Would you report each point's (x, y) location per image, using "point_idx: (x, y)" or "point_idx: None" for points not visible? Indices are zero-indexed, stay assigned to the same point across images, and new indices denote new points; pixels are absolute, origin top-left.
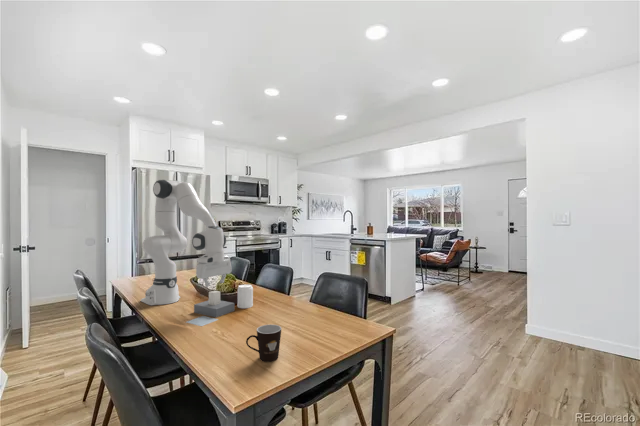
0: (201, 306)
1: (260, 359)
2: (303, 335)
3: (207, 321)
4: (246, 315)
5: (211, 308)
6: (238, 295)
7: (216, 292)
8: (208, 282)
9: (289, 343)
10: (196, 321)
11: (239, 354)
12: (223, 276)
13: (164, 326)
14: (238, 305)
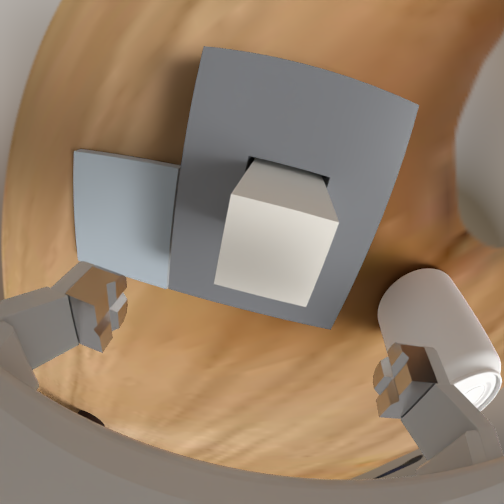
0: (186, 138)
1: (79, 411)
2: (192, 456)
3: (122, 251)
4: (292, 353)
5: (172, 246)
6: (412, 342)
7: (257, 287)
8: (71, 348)
9: (148, 442)
10: (99, 199)
11: (67, 387)
12: (442, 443)
13: (41, 86)
14: (394, 296)
